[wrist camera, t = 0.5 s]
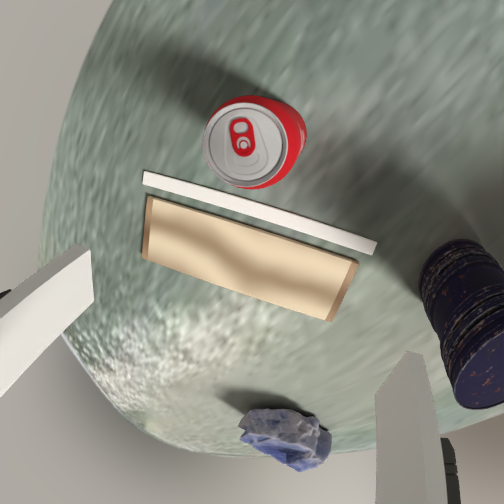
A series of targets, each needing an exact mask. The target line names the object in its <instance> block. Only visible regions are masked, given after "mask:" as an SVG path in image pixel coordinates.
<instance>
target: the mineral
mask: <svg viewBox="0 0 504 504" xmlns="http://www.w3.org/2000/svg"><path fill="white" fill-rule="evenodd" d="M319 422H320V421H319V420H318V419H317V418H315V417H313V416H312V417H305V416H302V415H301V414H300V413H298V412H295V411H294V410H292V409H273V410H270V409H254V410H250V411H248V413H247V414H246V415H245V416H244V417H243V418H242V419H241V421H240V423H239V425H238V427H240V428H242V429H244V430H245V432H244V433H243V434H242V436H241V437H240V440H241V441H243V442H245V443H248V444H250V445H252V446H253V448H255V449H256V450H259V451H260V452H262V453H264V454H267V455H271V456H272V457H274V458H275V459H277V460H278V461H280V462H281V463H283V464H286V465H287V466H289V467H292V468H293V469H295V470H296V471H298V472H302V471H305V470H308V469H312V468H316V467H318V466H320V465H321V464H323V462H324V461H325V460H326V459H327V458H328V455H329V453H330V451H331V445H332V435H331V434H330V433H329V432H326V431H324V430H322V429H321V428H319Z"/></svg>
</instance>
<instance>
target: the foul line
mask: <svg viewBox="0 0 504 504" xmlns="http://www.w3.org/2000/svg"><path fill="white" fill-rule="evenodd" d="M143 184H145V185H148V186H152V187H155V188H159V189H162V190H166V191H169V192H173V193H176V194H180V195H183V196H187V197H190V198H193V199H197V200H200V201H204V202H207V203H210V204H214V205H217V206H220V207H224V208H227V209H230V210H234V211H237V212H240V213H243V214H247V215H250V216H253V217H256V218H259V219H263V220H266V221H269V222H272V223H275V224H278V225H281V226H285V227H288V228H291V229H294V230H297V231H300V232H303V233H306V234H309V235H312V236H315V237H318V238H321V239H324V240H327V241H330V242H333V243H336V244H339V245H342V246H345V247H348V248H351V249H354V250H357V251H360V252H363V253H366V254H369V255H371V256H372V254H373V252H374V250H375V247H376V245H377V242H376V241H373V240H370V239H367V238H365V237H362V236H359V235H356V234H353V233H350V232H347V231H344V230H342V229H339V228H336V227H333V226H330V225H327V224H324V223H321V222H318V221H315V220H312V219H309V218H306V217H302V216H299V215H296V214H293V213H290V212H287V211H284V210H281V209H277V208H274V207H271V206H268V205H265V204H261V203H258V202H255V201H251V200H248V199H245V198H241V197H238V196H235V195H231V194H228V193H225V192H221V191H218V190H214V189H211V188H207V187H204V186H200V185H197V184H193V183H189V182H186V181H182V180H178V179H175V178H171V177H167V176H164V175H160V174H156V173H152V172H148V171H144V176H143Z"/></svg>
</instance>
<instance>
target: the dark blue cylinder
mask: <svg viewBox="0 0 504 504" xmlns="http://www.w3.org/2000/svg"><path fill="white" fill-rule="evenodd" d="M419 293H420V296H421V299H422V301H423V305H424V309H425V312H426V314H427V317H428V319H429V321H430V322H431V325H432V327H433V329H434V331H435V332H436V333H437V335H438V337H439V340H440V349H441V357H442V360H443V362H444V366H445V369H446V373H447V376H448V378H449V380H450V382H451V385H452V388H453V393H454V397H455V399H456V401H457V403H458V404H459V405H460V406H462V407H463V408H466V409H470V410H482V409H488V408H491V407H494V406H497V405H500V404H502V403H504V271H503V269H502V268H501V267H500V265H499V264H498V262H497V261H496V260H495V259H494V258H493V257H492V256H491V255H490V254H489V253H488V252H486V251H485V249H484V248H483V247H482V246H481V245H479V244H478V243H476V242H474V241H472V240H468V239H458V240H453V241H450V242H448V243H446V244H444V245H442V246H441V247H439V248H438V249H437V250H435V251H434V252H433V253H432V254H431V256H430V257H429V258H428V259H427V261H426V262H425V264H424V266H423V268H422V271H421V273H420V277H419Z"/></svg>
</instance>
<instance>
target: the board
mask: <svg viewBox="0 0 504 504" xmlns="http://www.w3.org/2000/svg"><path fill="white" fill-rule="evenodd" d="M142 258H144V259H147V260H149V261H152V262H155V263H158V264H160V265H163V266H166V267H168V268H171V269H174V270H177V271H179V272H182V273H185V274H188V275H190V276H193V277H196V278H199V279H202V280H205V281H207V282H210V283H213V284H216V285H219V286H222V287H225V288H228V289H230V290H233V291H236V292H239V293H242V294H245V295H248V296H251V297H254V298H257V299H260V300H263V301H266V302H269V303H272V304H275V305H278V306H282V307H285V308H288V309H291V310H294V311H297V312H300V313H303V314H307V315H310V316H313V317H316V318H320V319H323V320H326V321H329V322H332V321H333V319H334V317H335V314H336V312H337V310H338V308H339V306H340V304H341V302H342V300H343V298H344V296H345V294H346V292H347V290H348V287H349V285H350V283H351V281H352V279H353V277H354V274H355V272H356V270H357V268H358V265H359V262H358V261H355V260H352V259H349V258H346V257H343V256H340V255H337V254H334V253H331V252H328V251H325V250H322V249H319V248H316V247H313V246H310V245H307V244H304V243H301V242H298V241H295V240H292V239H289V238H286V237H282V236H279V235H276V234H273V233H270V232H267V231H264V230H261V229H257V228H254V227H251V226H248V225H245V224H242V223H238V222H235V221H232V220H229V219H226V218H222V217H219V216H216V215H213V214H209V213H206V212H203V211H200V210H196V209H193V208H190V207H186V206H183V205H180V204H176V203H173V202H170V201H166V200H163V199H160V198H156V197H153V196H148V197H147V204H146V214H145V225H144V236H143V250H142Z"/></svg>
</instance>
